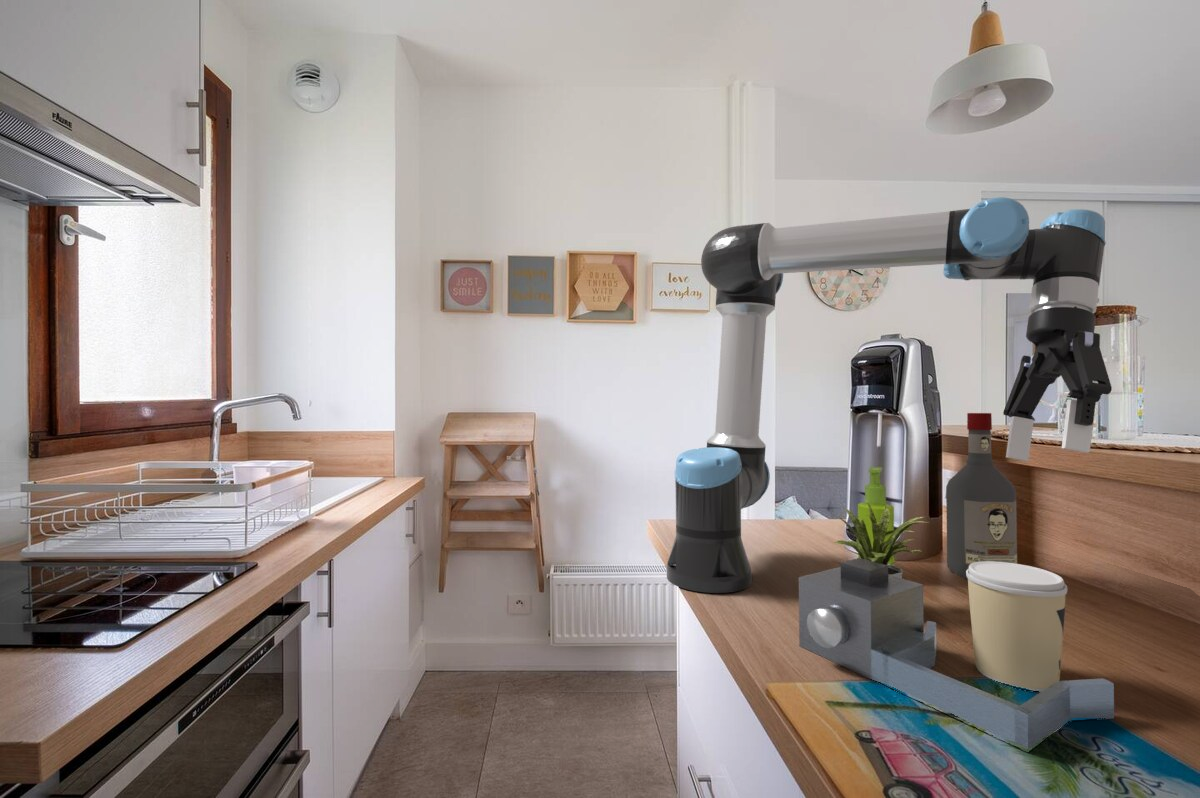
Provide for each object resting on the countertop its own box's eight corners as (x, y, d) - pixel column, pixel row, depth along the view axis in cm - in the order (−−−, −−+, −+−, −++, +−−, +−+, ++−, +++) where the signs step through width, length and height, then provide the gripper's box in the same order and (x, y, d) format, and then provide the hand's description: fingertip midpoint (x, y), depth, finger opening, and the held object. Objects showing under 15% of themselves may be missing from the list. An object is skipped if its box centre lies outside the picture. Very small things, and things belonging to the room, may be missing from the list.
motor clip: (864, 622, 77) (864, 546, 77) (1115, 717, 54) (1114, 607, 54) (789, 649, 69) (788, 564, 69) (1046, 774, 45) (1044, 645, 45)
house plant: (947, 636, 72) (946, 516, 72) (836, 622, 77) (835, 510, 77) (923, 600, 86) (922, 499, 86) (830, 590, 90) (829, 494, 91)
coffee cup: (1090, 700, 57) (1088, 588, 57) (991, 691, 58) (990, 582, 59) (1036, 659, 66) (1035, 562, 66) (953, 652, 68) (952, 558, 68)
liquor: (941, 567, 103) (939, 412, 103) (989, 568, 102) (987, 412, 103) (972, 583, 93) (970, 413, 94) (1025, 584, 93) (1023, 413, 93)
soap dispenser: (895, 573, 99) (894, 466, 99) (893, 584, 93) (892, 470, 94) (861, 568, 102) (860, 464, 103) (856, 578, 96) (855, 468, 97)
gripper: (1161, 284, 65) (1144, 452, 62) (1040, 343, 89) (1023, 467, 86) (1089, 275, 67) (1070, 438, 64) (989, 336, 91) (972, 456, 88)
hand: (1043, 455), depth 75 cm, fingers open, 13 cm apart
